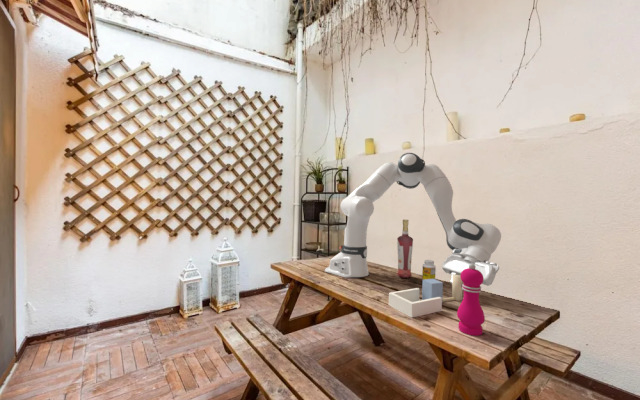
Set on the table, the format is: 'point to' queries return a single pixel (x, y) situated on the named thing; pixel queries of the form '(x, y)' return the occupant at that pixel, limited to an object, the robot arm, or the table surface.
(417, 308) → the white u-shaped wall
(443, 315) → the table surface
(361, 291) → the table surface
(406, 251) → the liquor
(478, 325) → the pepper mill
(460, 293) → the block
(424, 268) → the supplement bottle
